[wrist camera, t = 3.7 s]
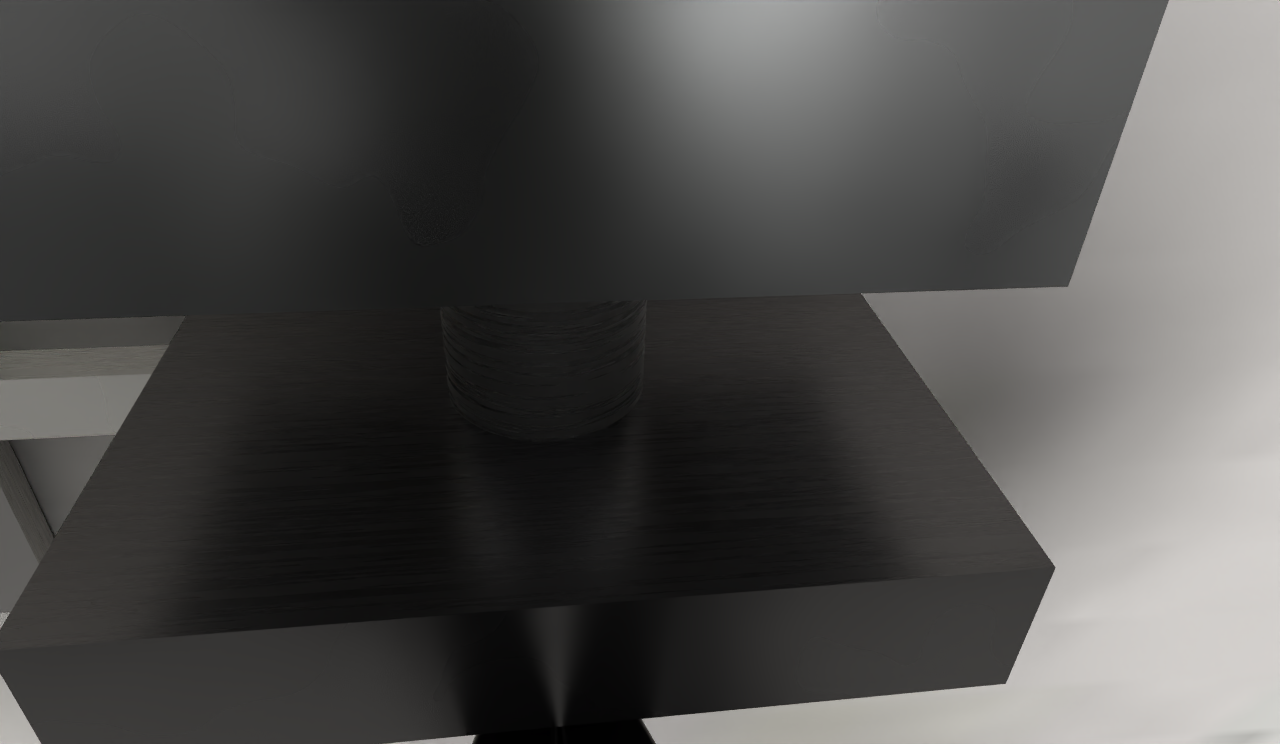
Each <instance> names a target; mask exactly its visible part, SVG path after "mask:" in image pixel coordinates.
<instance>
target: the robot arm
mask: <svg viewBox="0 0 1280 744" xmlns="http://www.w3.org/2000/svg"><path fill="white" fill-rule="evenodd" d="M472 744H656V743H655V741H654V740H653V738H652V736H651V734H650V733H649V731H648V729H647V728H646V726H645V724H644V723H643V721H642V719H633V720H623V721H612V722H602V723H592V724H581V725H571V726H561V727H550V728H540V729H529V730H519V731H509V732H498V733H488V734H478V735H476V736H475V738H474V741H473V743H472Z"/></svg>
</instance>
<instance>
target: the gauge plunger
mask: <svg viewBox="0 0 1280 744" xmlns="http://www.w3.org/2000/svg"><path fill="white" fill-rule="evenodd" d="M100 435H115V437H114V439H113V440H112V442H111V444H110V445H109V447H108V449H107V451H106V452H105V454H104V456H103V457H102V459H101V461H100V462H99V464H98V466H97V467H96V469H95V471H94V472H93V474H92V476H91V477H90V479H89V481H88V483H87V484H86V486H85V488H84V489H83V491H82V493H81V494H80V496H79V498H78V499H77V501H76V503H75V504H74V506H73V508H72V510H71V511H70V513H69V515H68V516H67V518H66V520H65V521H64V523H63V525H62V526H61V528H60V530H59V531H58V533H57V535H56V536H55V538H54V540H53V542H52V543H51V545H50V547H49V548H48V550H47V552H46V553H45V555H44V557H43V558H42V560H41V562H40V563H39V565H38V567H37V569H36V570H35V572H34V574H33V575H32V577H31V579H30V580H29V582H28V584H27V585H26V587H25V589H24V590H23V592H22V594H21V596H20V597H19V599H18V601H17V602H16V604H15V606H14V607H13V609H12V611H11V612H10V614H9V616H8V617H7V619H6V621H5V622H4V624H3V626H2V628H1V629H0V674H1V675H2V677H3V679H4V680H5V682H6V684H7V686H8V687H9V689H10V691H11V692H12V694H13V696H14V697H15V699H16V701H17V703H18V704H19V706H20V708H21V709H22V711H23V713H24V715H25V716H26V718H27V720H28V721H29V723H30V725H31V726H32V728H33V730H34V732H35V733H36V735H37V737H38V738H39V740H40V742H41V744H384V743H395V742H405V741H415V740H426V739H436V738H446V737H457V736H467V735H478V734H488V733H498V732H509V731H519V730H529V729H540V728H550V727H561V726H571V725H581V724H592V723H602V722H612V721H623V720H633V719H643V718H654V717H664V716H675V715H685V714H695V713H706V712H716V711H726V710H737V709H747V708H758V707H768V706H778V705H789V704H799V703H809V702H820V701H830V700H841V699H851V698H861V697H872V696H882V695H892V694H903V693H913V692H924V691H934V690H944V689H955V688H965V687H975V686H986V685H996V684H1006V681H1007V679H1008V677H1009V675H1010V672H1011V670H1012V668H1013V665H1014V663H1015V661H1016V658H1017V656H1018V654H1019V651H1020V649H1021V647H1022V644H1023V642H1024V640H1025V637H1026V635H1027V633H1028V630H1029V628H1030V626H1031V623H1032V621H1033V619H1034V616H1035V614H1036V612H1037V609H1038V607H1039V605H1040V603H1041V600H1042V598H1043V596H1044V593H1045V591H1046V589H1047V586H1048V584H1049V582H1050V579H1051V577H1052V575H1053V572H1054V570H1055V566H1054V565H1053V563H1052V562H1051V561H1050V559H1049V558H1048V556H1047V555H1046V553H1045V552H1044V551H1043V549H1042V548H1041V546H1040V545H1039V544H1038V542H1037V541H1036V539H1035V538H1034V537H1033V535H1032V534H1031V532H1030V531H1029V530H1028V528H1027V527H1026V525H1025V524H1024V523H1023V521H1022V520H1021V518H1020V517H1019V515H1018V514H1017V513H1016V511H1015V510H1014V508H1013V507H1012V506H1011V504H1010V503H1009V501H1008V500H1007V499H1006V497H1005V496H1004V494H1003V493H1002V492H1001V490H1000V489H999V487H998V486H997V485H996V483H995V482H994V480H993V479H992V477H991V476H990V475H989V473H988V472H987V470H986V469H985V468H984V466H983V465H982V463H981V462H980V461H979V459H978V458H977V456H976V455H975V454H974V452H973V451H972V449H971V448H970V447H969V445H968V444H967V442H966V441H965V440H964V438H963V437H962V435H961V434H960V432H959V431H958V430H957V428H956V427H955V425H954V424H953V423H952V421H951V420H950V418H949V417H948V416H947V414H946V413H945V411H944V410H943V409H942V407H941V406H940V404H939V403H938V402H937V400H936V399H935V397H934V396H933V394H932V393H931V392H930V390H929V389H928V387H927V386H926V385H925V383H924V382H923V380H922V379H921V378H920V376H919V375H918V373H917V372H916V371H915V369H914V368H913V366H912V365H911V364H910V362H909V361H908V359H907V358H906V356H905V355H904V354H903V352H902V351H901V349H900V348H899V347H898V345H897V344H896V342H895V341H894V340H893V338H892V337H891V335H890V334H889V333H888V331H887V330H886V328H885V327H884V326H883V324H882V323H881V321H880V320H879V318H878V317H877V316H876V314H875V313H874V311H873V310H872V309H871V307H870V306H869V304H868V303H867V302H866V300H865V299H864V297H863V296H862V295H861V293H855V294H824V295H794V296H763V297H733V298H702V299H672V300H641V301H611V302H580V303H550V304H519V305H489V306H458V307H428V308H397V309H367V310H336V311H306V312H275V313H245V314H214V315H187V316H186V317H185V319H184V321H183V322H182V324H181V326H180V327H179V329H178V331H177V332H176V334H175V336H174V338H173V339H172V341H171V343H170V344H169V345H154V346H127V347H100V348H73V349H45V350H18V351H0V440H19V439H39V438H60V437H80V436H100Z"/></svg>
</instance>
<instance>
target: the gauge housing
mask: <svg viewBox="0 0 1280 744" xmlns="http://www.w3.org/2000/svg"><path fill="white" fill-rule="evenodd" d="M1168 1H1169V0H0V322H1V321H31V320H62V319H92V318H123V317H153V316H184V315H214V314H245V313H275V312H306V311H336V310H367V309H397V308H428V307H458V306H489V305H519V304H550V303H580V302H611V301H641V300H672V299H702V298H733V297H763V296H794V295H824V294H855V293H885V292H916V291H946V290H977V289H1007V288H1038V287H1068V285H1069V282H1070V279H1071V277H1072V274H1073V271H1074V268H1075V265H1076V262H1077V259H1078V257H1079V254H1080V251H1081V248H1082V245H1083V242H1084V240H1085V237H1086V234H1087V231H1088V228H1089V225H1090V223H1091V220H1092V217H1093V214H1094V211H1095V208H1096V205H1097V203H1098V200H1099V197H1100V194H1101V191H1102V188H1103V186H1104V183H1105V180H1106V177H1107V174H1108V171H1109V169H1110V166H1111V163H1112V160H1113V157H1114V154H1115V151H1116V149H1117V146H1118V143H1119V140H1120V137H1121V134H1122V132H1123V129H1124V126H1125V123H1126V120H1127V117H1128V115H1129V112H1130V109H1131V106H1132V103H1133V100H1134V97H1135V95H1136V92H1137V89H1138V86H1139V83H1140V80H1141V78H1142V75H1143V72H1144V69H1145V66H1146V63H1147V61H1148V58H1149V55H1150V52H1151V49H1152V46H1153V43H1154V41H1155V38H1156V35H1157V32H1158V29H1159V26H1160V24H1161V21H1162V18H1163V15H1164V12H1165V9H1166V7H1167V4H1168ZM53 540H54V537H53V535H52V533H51V531H50V529H49V526H48V524H47V522H46V520H45V518H44V516H43V514H42V511H41V509H40V507H39V505H38V503H37V501H36V499H35V496H34V494H33V492H32V490H31V488H30V486H29V484H28V482H27V479H26V477H25V475H24V473H23V471H22V469H21V467H20V464H19V462H18V460H17V458H16V456H15V454H14V452H13V450H12V447H11V445H10V443H9V441H8V440H0V613H1V612H11V611H12V609H13V607H14V606H15V604H16V602H17V601H18V599H19V597H20V596H21V594H22V592H23V590H24V589H25V587H26V585H27V584H28V582H29V580H30V579H31V577H32V575H33V574H34V572H35V570H36V569H37V567H38V565H39V563H40V562H41V560H42V558H43V557H44V555H45V553H46V552H47V550H48V548H49V547H50V545H51V543H52V542H53Z"/></svg>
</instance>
